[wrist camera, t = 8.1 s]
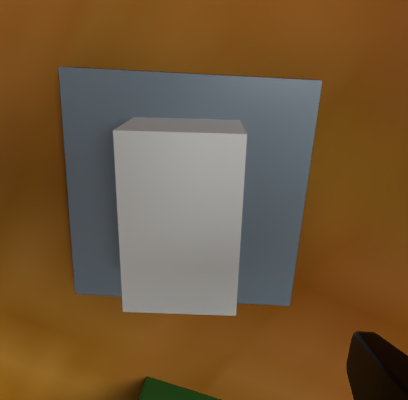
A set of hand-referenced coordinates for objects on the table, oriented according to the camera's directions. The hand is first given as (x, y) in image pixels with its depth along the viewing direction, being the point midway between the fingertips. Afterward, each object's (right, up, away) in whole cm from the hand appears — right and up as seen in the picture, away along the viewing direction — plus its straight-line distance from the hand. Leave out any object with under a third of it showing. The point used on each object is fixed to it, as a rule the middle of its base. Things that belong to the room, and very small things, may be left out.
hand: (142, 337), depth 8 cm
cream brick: (0, +3, +11) cm, 12 cm away
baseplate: (0, +4, +13) cm, 13 cm away
